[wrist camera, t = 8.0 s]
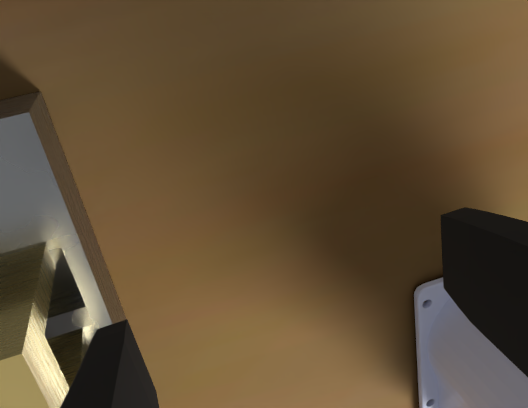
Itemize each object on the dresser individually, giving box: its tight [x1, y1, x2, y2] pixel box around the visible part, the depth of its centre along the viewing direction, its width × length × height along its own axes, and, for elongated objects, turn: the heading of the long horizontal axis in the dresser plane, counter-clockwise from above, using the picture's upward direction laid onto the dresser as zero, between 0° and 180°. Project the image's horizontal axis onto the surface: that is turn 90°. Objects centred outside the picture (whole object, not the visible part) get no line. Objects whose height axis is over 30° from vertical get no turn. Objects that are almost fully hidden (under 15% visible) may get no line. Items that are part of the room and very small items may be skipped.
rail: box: [0, 91, 159, 405], centre depth 19 cm, size 15×5×3 cm, turn 10°
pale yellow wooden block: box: [0, 244, 89, 408], centre depth 16 cm, size 5×2×6 cm, turn 10°
